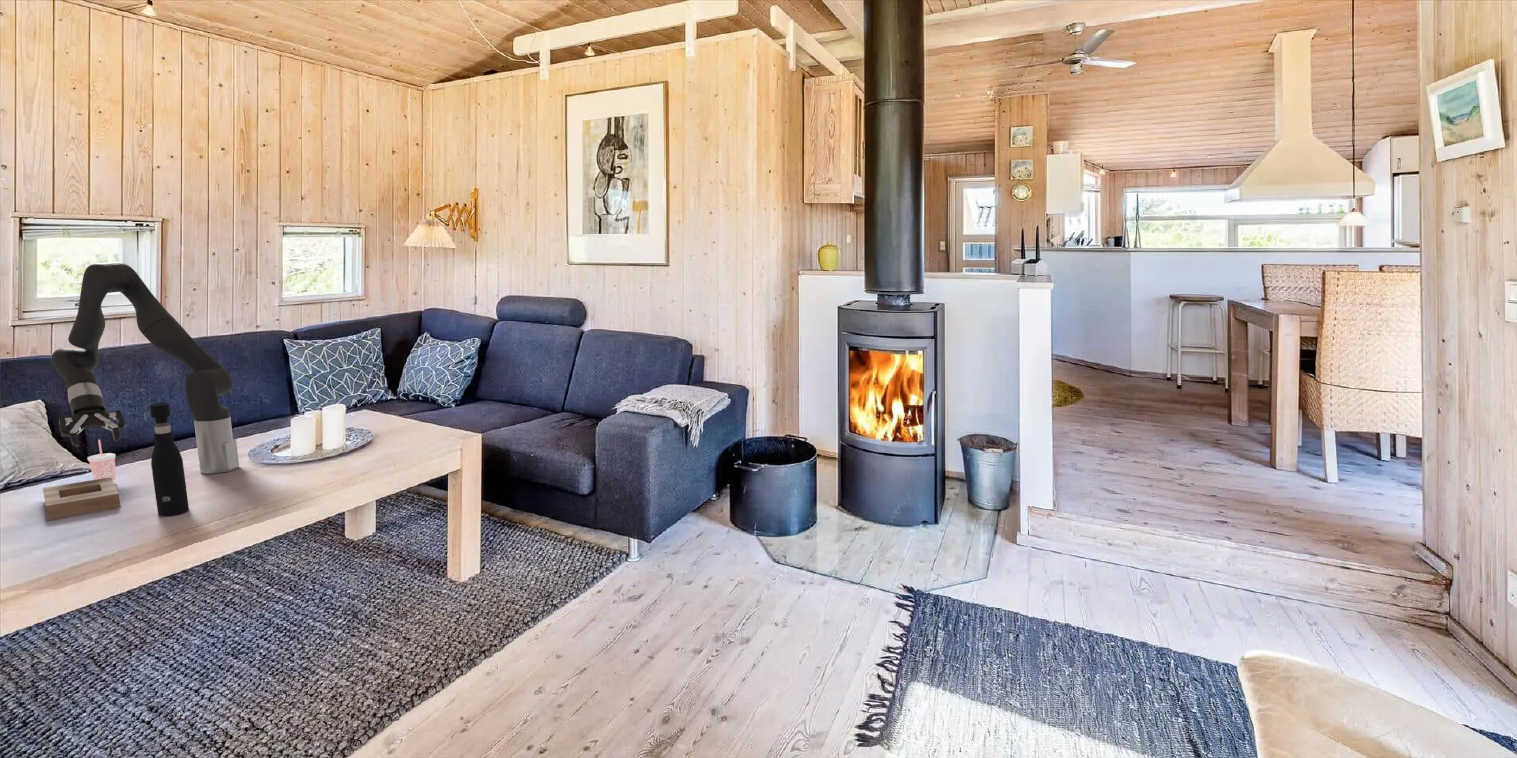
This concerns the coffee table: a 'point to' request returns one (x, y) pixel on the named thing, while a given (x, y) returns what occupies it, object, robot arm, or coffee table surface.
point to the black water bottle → (167, 466)
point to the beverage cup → (103, 465)
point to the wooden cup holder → (80, 498)
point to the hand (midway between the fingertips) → (97, 442)
